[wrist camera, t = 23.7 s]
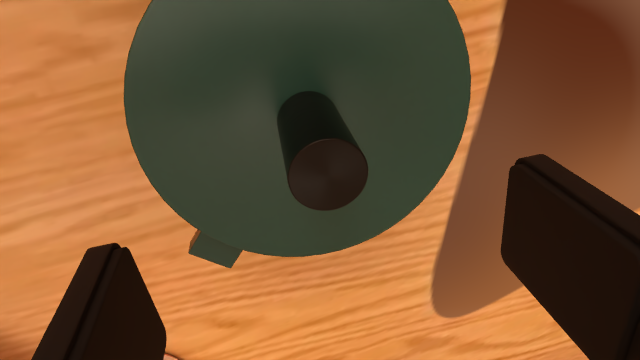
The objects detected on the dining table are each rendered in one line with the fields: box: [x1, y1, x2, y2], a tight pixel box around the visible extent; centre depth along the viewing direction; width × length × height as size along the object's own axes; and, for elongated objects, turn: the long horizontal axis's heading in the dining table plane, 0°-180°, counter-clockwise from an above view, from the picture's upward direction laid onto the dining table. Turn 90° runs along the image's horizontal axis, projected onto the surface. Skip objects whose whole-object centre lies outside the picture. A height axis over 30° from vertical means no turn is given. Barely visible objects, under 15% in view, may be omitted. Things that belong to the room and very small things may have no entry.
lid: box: [124, 0, 471, 257], centre depth 16 cm, size 14×14×6 cm
